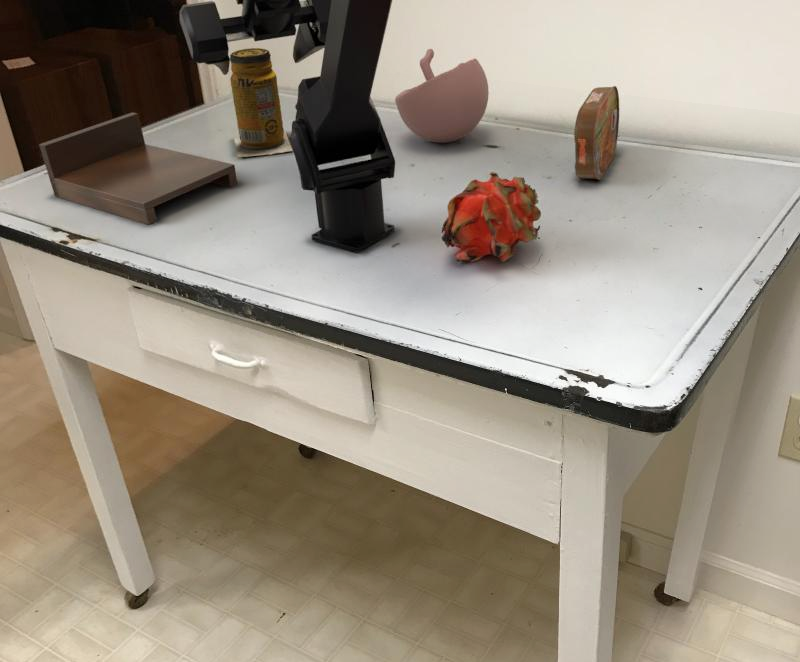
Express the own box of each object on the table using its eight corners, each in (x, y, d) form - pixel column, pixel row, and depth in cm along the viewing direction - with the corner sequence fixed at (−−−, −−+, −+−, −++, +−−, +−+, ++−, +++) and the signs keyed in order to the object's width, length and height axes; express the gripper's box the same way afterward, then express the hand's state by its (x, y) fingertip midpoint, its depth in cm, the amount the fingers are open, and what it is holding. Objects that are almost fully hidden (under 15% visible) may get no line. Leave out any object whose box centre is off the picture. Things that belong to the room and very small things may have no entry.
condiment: (285, 133, 121) (273, 43, 114) (292, 152, 114) (280, 57, 107) (234, 140, 119) (218, 49, 113) (237, 159, 113) (221, 64, 106)
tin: (595, 190, 96) (600, 115, 92) (567, 188, 97) (571, 113, 93) (619, 147, 108) (625, 77, 103) (594, 145, 109) (598, 76, 104)
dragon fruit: (542, 250, 88) (457, 305, 83) (490, 189, 89) (404, 239, 85) (577, 203, 80) (485, 260, 76) (519, 137, 82) (426, 189, 77)
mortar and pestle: (431, 121, 121) (428, 35, 114) (505, 133, 115) (506, 43, 108) (380, 147, 113) (374, 56, 107) (457, 161, 107) (454, 66, 101)
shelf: (238, 184, 105) (228, 131, 101) (148, 224, 96) (135, 168, 92) (143, 161, 114) (132, 112, 111) (54, 196, 106) (38, 144, 102)
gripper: (331, -95, 95) (310, -2, 110) (164, -76, 90) (166, 19, 104) (363, -7, 94) (338, 75, 108) (195, 17, 88) (193, 100, 103)
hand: (260, 65), depth 106 cm, fingers open, 9 cm apart
